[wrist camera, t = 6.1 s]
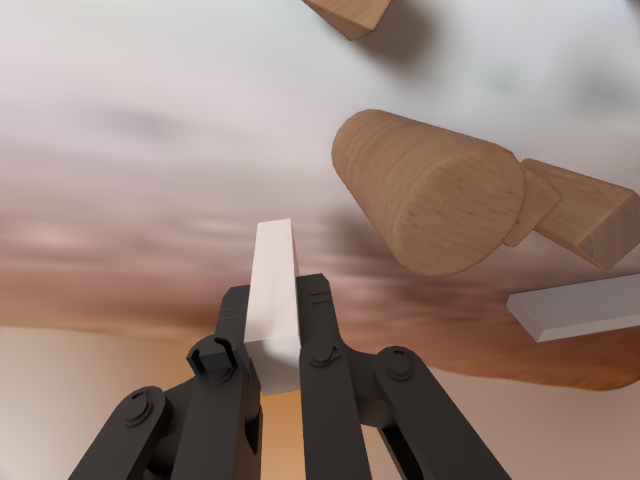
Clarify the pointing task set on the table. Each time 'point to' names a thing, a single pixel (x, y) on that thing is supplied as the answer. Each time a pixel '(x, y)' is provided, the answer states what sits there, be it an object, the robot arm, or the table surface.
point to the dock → (578, 308)
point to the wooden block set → (465, 185)
